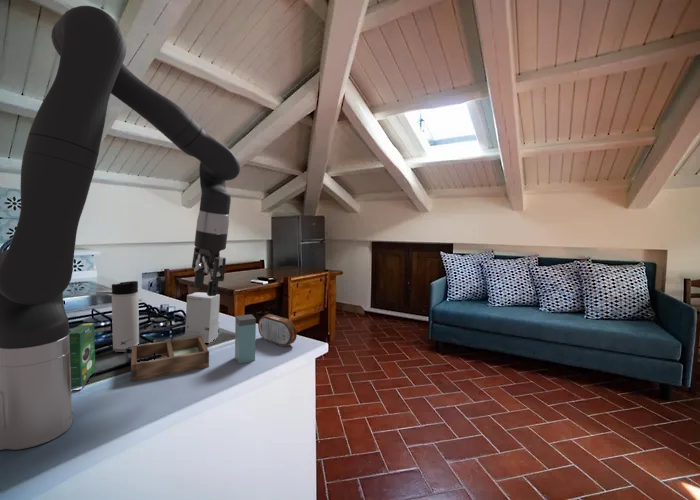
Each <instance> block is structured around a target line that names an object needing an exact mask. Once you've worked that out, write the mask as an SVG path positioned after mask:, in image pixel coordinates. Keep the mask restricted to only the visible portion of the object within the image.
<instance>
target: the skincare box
mask: <svg viewBox="0 0 700 500" xmlns="http://www.w3.org/2000/svg"><path fill="white" fill-rule="evenodd" d="M220 296H221V294H218V293H217V295H216V296H208V295H207V292H198V291H196V292H193V293H190V294H187V295H186V310H185V328H184V329H185V330H184V338H190V337H197V336H201V337H202V339H203V341H204V343H209V344H211V343H212V342H214V341H215V340H217V339H218V338H217V337H218V334H219V318H220V317H219V316H220V302H221V301H220V300H221V299H220V298H221V297H220ZM216 338H217V339H216ZM214 339H215V340H214ZM213 340H214V341H213ZM210 342H211V343H210Z"/></svg>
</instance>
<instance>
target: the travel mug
mask: <svg viewBox="0 0 700 500" xmlns="http://www.w3.org/2000/svg"><path fill="white" fill-rule="evenodd" d="M138 281H139V280H138ZM138 281H137V280H132V281H131V280H130V281H129V280H128V281H123V282H119V283H116V284H115V283H113V284H111V317H112V321H111V322H112V323H111V325H112V326H111V327H112V351H113V352H114V351H115V353H117V352H124V353H126V352H125V350H126V348H128V347H132V346H135V345H138V344H139V345H140V330H139V329H140V324H139V323H140V319H139V311H140V310H139V289H138V288H139V282H138Z"/></svg>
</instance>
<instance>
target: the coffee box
mask: <svg viewBox="0 0 700 500" xmlns="http://www.w3.org/2000/svg"><path fill="white" fill-rule="evenodd" d="M69 341H70V369H71V387H76V386H82V385H83V383H84V382H85V381H86V380H87V379H88V378H89V377H90V376H91V375H92V374H93V373H94V372H95V373H96V346H95V345H96V344H95V343H96V341H95V322H87V323H86V322H85V323H80V324H79V325H77V326H75V327H74V328H73V329H71V330H69Z"/></svg>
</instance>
